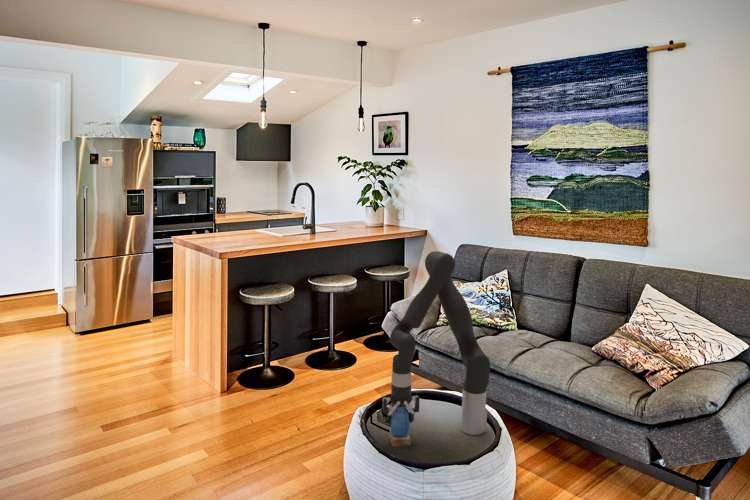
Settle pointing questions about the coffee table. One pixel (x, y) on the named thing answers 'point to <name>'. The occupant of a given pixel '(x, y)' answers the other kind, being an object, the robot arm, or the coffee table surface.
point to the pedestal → (400, 440)
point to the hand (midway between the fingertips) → (400, 422)
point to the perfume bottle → (400, 421)
